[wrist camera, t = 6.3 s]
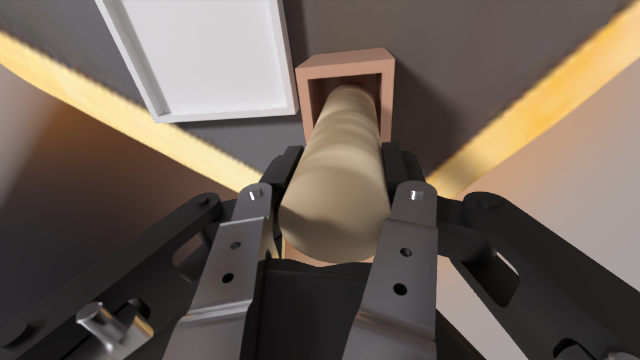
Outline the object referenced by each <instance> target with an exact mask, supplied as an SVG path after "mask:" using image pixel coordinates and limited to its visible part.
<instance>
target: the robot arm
mask: <svg viewBox="0 0 640 360" xmlns="http://www.w3.org/2000/svg"><path fill="white" fill-rule="evenodd" d="M381 150H382V157H383V164H384V170H385V177H386V184H387V191H388V196H389V201H390V208H391V212H390V215H389V218H386V219H385V222H384V225H383V229H382V232H381V236H380V239H379V243H378V246H377V249H376V253H375V256H374V260H373V263H365V262H348V263H343V264H337V265H331V266H325V267H315V266H312V265H309V264H305V263H302V262H299V261H295V260H291V259H284V252H285V250H284V249H285V247H284V246H285V237H284V235H283V234H282V232H281V229H280V227H279V223H278V211H279V207H280V204H281V202H282V200H283V197H284V195H285V193H286V191H287V188H288V186H289V184H290V182H291V179H292V177H293V175H294V173H295V170H296V168H297V166H298V164H299V161H300V159H301V157H302V155H303V152H304V147H303V145H301V146H288V148H287V149H286V151H285V153H284V154H283V155H279V156H278V157H276V158H275V159H274V160H272V162H271V163H270V165H269V167H268V168H267V170H266V171H265V173H264V174H263V176H262V178H261V179H260V181H259V182H258V183H255V184H251V185H249V186H247V187H245V188H244V189H242V190H241V191H240V193H239V195H238V198H237V199H232V200H228V201H223V202H221V200H220V198H219V196H218V194H216V193H203V194H200V195H198V196H195V197H193V198H192V199H190V200H189V201H187V202H186V203H184V204H183V205H181V206H180V207H179V208H177V209H176V210H174V211H173V212H171V213H170V214H168V215H167V216H166V217H164V218H163V219H161V220H160V221H158V222H157V223H155V224H154V225H152V226H151V227H149V228H148V229H147V230H145V231H144V232H142V233H141V234H139V235H138V236H136V237H135V238H134V239H132V240H131V241H129V242H128V243H126V244H125V245H123V246H122V247H120V248H119V249H117V250H116V251H115V252H113V253H112V254H110V255H109V256H107V257H106V258H105V259H103V260H102V261H100V262H98V263H97V264H96V265H94V266H93V267H91V268H90V269H88V270H87V271H86V272H84V273H83V274H81V275H80V276H78V277H77V278H75V279H74V280H72V281H71V282H69V283H68V284H67V285H65V286H64V287H62V288H61V289H59V290H58V291H56V292H55V293H54V294H52V295H50V296H49V297H48V298H46V299H45V300H43V301H42V302H40V303H39V304H37V305H36V306H34V307H33V308H32V309H30V310H29V311H27V312H26V313H24V314H23V315H21V316H20V317H19V318H17V319H16V320H14V321H13V322H11V323H10V324H8V325H7V326H6V327H4V328H3V329H1V330H0V360H486V359H485V358H484V357H483V356H482V355H481V353H479V351H477V349H475V347H473V345H472V344H471V343H470V342H469V341H468V340H467V339H466V338H465V337H464V336H463V335H462V334H461V333H460V332H459V331H458V330H457V329H456V328H455V327H454V326H453V325H452V324H451V323H450V322H449V321H448V320H447V319H446V318H445V317H444V316H443V315H442V314H441V313H440V312H439V311H438V310H437V309H436V284H437V283H436V282H437V254H438V255H441V256H445V257H448V258H449V259H450V261H451V263H452V264H453V265H454V267H455V268H456V269H457V271H458V272H459V273H460V274H461V276H462V277H463V278H464V279H465V281H466V282H467V283H468V284H469V286H470V287H471V288H472V289H473V291H474V292H475V293H476V294H477V296H478V297H479V298H480V299H481V301H483V303H484V304H485V306H486V307H487V308H488V309H489V311H490V312H491V313H492V314H493V316H494V317H495V318H496V319H497V321H498V322H499V323H500V324H501V326H502V327H503V328H504V329H505V331H506V332H507V333H508V334H509V335H510V337H511V338H512V339H513V341H514V342H515V343H516V344H517V345H518V347H519V348H520V349H521V351H522V352H523V353H524V354H525V356H526V357H527V358H528V359H529V360H640V292H638V291H637V290H636V289H635V288H633V287H632V286H630V285H629V284H627V283H626V282H624V281H623V280H622V279H620V278H619V277H617V276H616V275H614V274H613V273H612V272H610V271H609V270H607V269H606V268H604V267H603V266H601V265H600V264H599V263H597V262H596V261H594V260H593V259H591V258H590V257H588V256H587V255H585V254H584V253H583V252H581V251H580V250H578V249H577V248H576V247H574V246H573V245H571V244H570V243H568V242H567V241H566V240H564V239H562V238H561V237H560V236H558V235H557V234H556V233H554V232H553V231H551V230H550V229H548V228H547V227H545V226H544V225H543V224H541V223H540V222H538V221H537V220H535V219H534V218H532V217H531V216H530V215H528V214H527V213H525V212H524V211H522V210H521V209H520V208H518V207H517V206H515V205H514V204H512V203H511V202H510V201H508V200H507V199H505V198H503V197H501V196H499V195H496V194H493V193H489V192H472V193H469V194H467V195H466V196H465V197H464V199H463V201H458V200H452V199H447V198H444V197H441V196H438V195H437V191H436V189H435V188H434V187H433V186H432V185H430V184H428V183H426V181H425V178H424V176H423V173H422V171H421V168H420V166H419V163H418V161H417V158H416V156H415V155H414V154H412V153H411V152H410V151H400V148H399V145H398V142H382V146H381ZM196 234H197V235H198V237H199V239H200V240H201V242H202V245H201V246H200V247H198V248H197V249H196V250H195V251H194V252H193V253H192V254H191V255H189V256H188V257H187V258H186V259H185V260H184V261H183V262H182V263H180V264H179V265H178V266H177V267H176V268H175V266H174V265H173V263H172V257H173V255H174V253H175V252H176V251H177V250H178V249H179V248H180V247H181V246H182V245H184V244H185V243H186V242H187V241H189V239H191V238H192V237H193V236H195V235H196ZM497 252H499V253H500V254H501V255H502V256H503V257H504V258H505V259H506V260H507V261H508V262H509V263H510V264H511V265H512V266H513V267H514V268H515V269H516V271H517V273H518V275H519V276H518V275H517V274H516V273H515V272H514V271H513V270H512V269H511V268H510V267H509V266H508V265H507V264H506V263H505V262H504V261H503V260H502V259H501V258H499V256H498V255H497ZM193 297H194V299H193V302H192V305H191V307H190V309H189V310H188V311H186V312H185V313H184V314H182V315H181V316H180V317H178V318H177V319H176V320H174V321H173V322H172V323H170V324H169V325H168V326H166V325H167V324H168V323H169V322H170V321H171V320H172V319H173V318H174V316H176V315H177V313H178V312H179V311H180V310H181V309H182V308H183V307H184V306H185V305H186V304H187V303H188V302H189V301H190V300H191V299H192V298H193ZM165 326H166V327H165ZM164 327H165V328H164ZM163 328H164V329H163Z"/></svg>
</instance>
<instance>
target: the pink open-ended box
mask: <svg viewBox="0 0 640 360" xmlns="http://www.w3.org/2000/svg"><path fill="white" fill-rule="evenodd" d="M394 67H395V58H394V57H393V56H392V55H391V54H390V53H389V52H388V51H387V50H386V49H385V48H384V47H382V48H373V49H363V50H354V51H345V52H335V53H326V54H317V55H313V56H312V57H311V58H309V59H308V60H306V61H305V62H304V63H302V64H301V65H299V66H298V67H297V68H295V72H296V79H297V86H298V92H299V99H300V106H301V112H302V119H303V126H304V132H305V139H306V146H307V143H308V141H309V139H310V137H311V134H312V132H313V130H314V128H315V125H316V123H317V121H318V119H319V116H320V114H321V112H322V110H323V107H324V105H325V103H326V101H327V98H328V96H329V94H330V93H331V91H332V90H333V89H334V88H335V87H337V86H338V85H340V84H342V83H345V82H357V83H360V84H362V85H364V86H365V87H366V88H368V89H369V91H370V92H371V94H372V95H373V98H374V102H375V109H376V116H377V122H378V129H379V135H380V142H381V146H382V142H390V141H391V122H392V104H393V85H394Z"/></svg>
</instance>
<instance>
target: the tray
mask: <svg viewBox="0 0 640 360" xmlns="http://www.w3.org/2000/svg"><path fill="white" fill-rule="evenodd" d="M95 2H96V4H97V6H98V8H99V10H100V12H101V14H102V16H103V18H104V20H105V22H106V24H107V26H108V28H109V30H110V32H111V34H112V36H113V38H114V40H115V42H116V44H117V46H118V48H119V50H120V53H121V55H122V57H123V59H124V61H125V63H126V65H127V67H128V69H129V71H130V73H131V75H132V77H133V79H134V81H135V83H136V85H137V87H138V89H139V91H140V93H141V95H142V97H143V99H144V101H145V103H146V105H147V108H148V110H149V112H150V114H151V116H152V118H153V120H154V122H155V123H170V122H186V121H201V120H217V119H233V118H249V117H264V116H280V115H295V114H296V113H297V112H298V110H299V104H298V97H297V91H296V84H295V78H294V71H293V65H292V58H291V52H290V45H289V39H288V32H287V26H286V19H285V13H284V6H283V0H95Z"/></svg>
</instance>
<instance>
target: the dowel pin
mask: <svg viewBox="0 0 640 360" xmlns="http://www.w3.org/2000/svg"><path fill="white" fill-rule="evenodd" d="M390 212H391V208H390V201H389V196H388V191H387V184H386V177H385V170H384V164H383V157H382V150H381V142H380V135H379V129H378V122H377V116H376V109H375V102H374V98H373V95H372V94H371V92H370V91H369V89H368V88H366V87H365V86H364V85H362V84H360V83H357V82H345V83H342V84H340V85H338V86H337V87H335V88H334V89H333V90H332V91H331V93H330V94H329V96H328V98H327V101H326V103H325V105H324V107H323V110H322V112H321V114H320V116H319V119H318V121H317V123H316V125H315V128H314V130H313V132H312V134H311V137H310V139H309V141H308V143H307V146H306V148H305V150H304V152H303V155H302V157H301V159H300V161H299V164H298V166H297V168H296V170H295V173H294V175H293V177H292V179H291V182H290V184H289V186H288V188H287V191H286V193H285V195H284V197H283V200H282V202H281V204H280V207H279V211H278V223H279V227H280V229H281V232H282V234H283V235H284V237H285V238H286V239H287V241H288V242H289V243H290V244H291V245H292V246H293V247H294V248H295V249H297V250H298V251H300V252H301V253H303V254H305V255H306V256H309V257H311V258H313V259H316V260H319V261H323V262H328V263H337V264H343V263H348V262H359V261H363V260H366V259H368V258H370V257H372V256H374V255H375V253H376V249H377V246H378V243H379V239H380V236H381V232H382V229H383V225H384V222H385V219H386V218H389V215H390Z"/></svg>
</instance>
